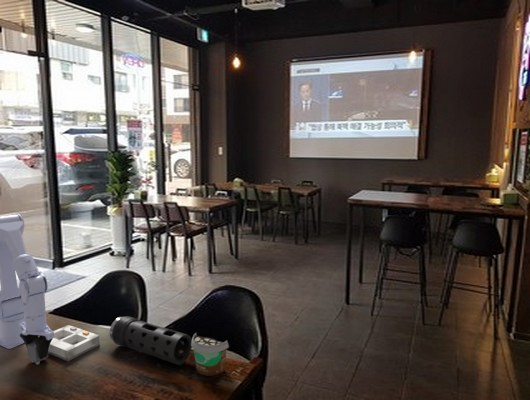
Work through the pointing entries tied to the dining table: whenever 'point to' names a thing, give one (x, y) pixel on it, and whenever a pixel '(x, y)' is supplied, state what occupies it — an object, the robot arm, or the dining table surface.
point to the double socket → (72, 342)
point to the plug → (34, 353)
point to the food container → (209, 355)
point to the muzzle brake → (151, 339)
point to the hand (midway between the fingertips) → (38, 355)
